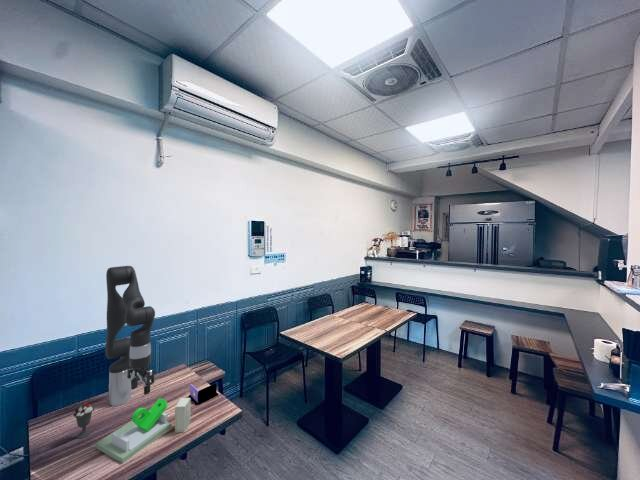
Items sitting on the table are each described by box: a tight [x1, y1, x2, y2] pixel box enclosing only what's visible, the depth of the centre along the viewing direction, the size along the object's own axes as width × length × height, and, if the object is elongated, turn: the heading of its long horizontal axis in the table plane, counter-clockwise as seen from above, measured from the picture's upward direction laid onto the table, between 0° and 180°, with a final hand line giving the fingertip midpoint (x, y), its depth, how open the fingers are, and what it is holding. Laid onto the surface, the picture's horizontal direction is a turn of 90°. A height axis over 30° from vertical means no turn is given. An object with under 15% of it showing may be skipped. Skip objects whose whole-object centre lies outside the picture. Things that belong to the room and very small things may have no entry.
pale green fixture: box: [95, 412, 172, 464], centre depth 111 cm, size 18×20×6 cm
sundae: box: [72, 398, 95, 440], centre depth 112 cm, size 7×7×15 cm
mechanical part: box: [131, 397, 168, 431], centre depth 115 cm, size 12×6×8 cm
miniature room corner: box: [187, 383, 219, 406], centre depth 140 cm, size 12×12×7 cm
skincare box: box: [174, 397, 191, 433], centre depth 116 cm, size 6×4×12 cm
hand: (140, 391), depth 111 cm, fingers open, 8 cm apart
